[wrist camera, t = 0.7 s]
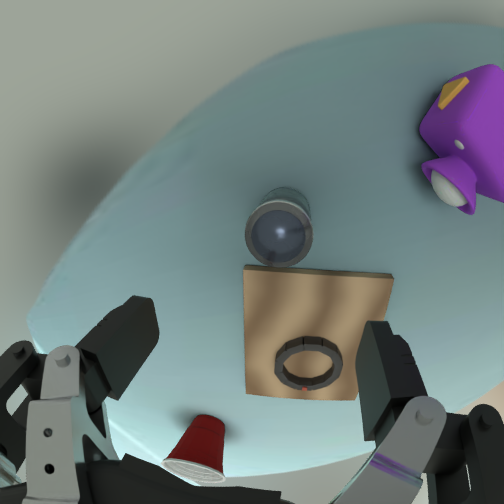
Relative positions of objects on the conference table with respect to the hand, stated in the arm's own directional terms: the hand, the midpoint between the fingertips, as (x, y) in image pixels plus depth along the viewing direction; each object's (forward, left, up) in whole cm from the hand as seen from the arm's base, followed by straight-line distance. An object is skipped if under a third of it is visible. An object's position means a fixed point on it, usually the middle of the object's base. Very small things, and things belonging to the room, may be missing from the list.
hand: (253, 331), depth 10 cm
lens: (0, 0, -18) cm, 19 cm away
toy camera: (-18, -9, -19) cm, 28 cm away
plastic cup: (+11, +39, -19) cm, 44 cm away
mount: (-4, +16, -18) cm, 25 cm away
